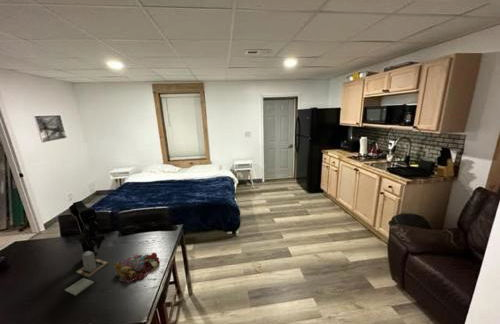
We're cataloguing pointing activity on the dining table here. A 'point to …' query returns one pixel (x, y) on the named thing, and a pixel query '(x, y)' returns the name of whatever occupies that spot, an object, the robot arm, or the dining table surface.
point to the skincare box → (89, 261)
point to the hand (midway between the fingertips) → (94, 247)
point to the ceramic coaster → (79, 286)
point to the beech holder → (94, 270)
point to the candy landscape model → (136, 267)
